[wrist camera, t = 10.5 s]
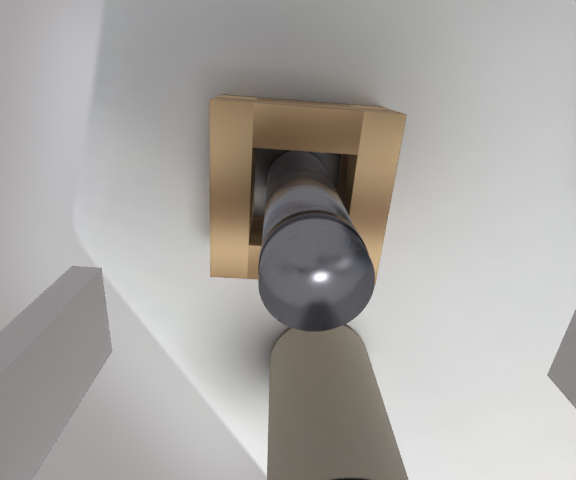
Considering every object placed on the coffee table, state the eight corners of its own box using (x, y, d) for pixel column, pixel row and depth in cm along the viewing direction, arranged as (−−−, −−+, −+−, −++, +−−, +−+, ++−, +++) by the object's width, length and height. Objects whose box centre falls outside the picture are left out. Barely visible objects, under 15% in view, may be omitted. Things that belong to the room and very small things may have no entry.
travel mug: (252, 343, 31) (224, 643, 15) (341, 302, 30) (419, 581, 14) (298, 407, 34) (317, 719, 18) (381, 372, 33) (486, 674, 16)
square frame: (222, 94, 24) (209, 99, 19) (382, 106, 24) (406, 114, 20) (221, 243, 28) (210, 276, 23) (359, 251, 28) (375, 285, 24)
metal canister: (268, 147, 25) (259, 224, 12) (331, 152, 26) (385, 231, 13) (265, 207, 27) (254, 330, 14) (324, 211, 27) (366, 335, 14)
